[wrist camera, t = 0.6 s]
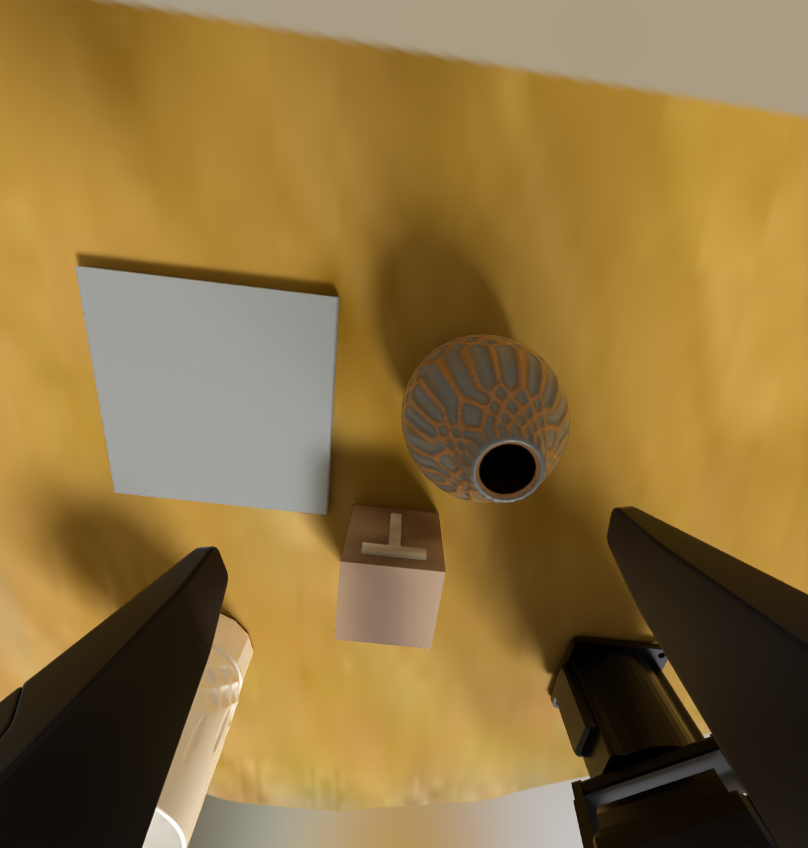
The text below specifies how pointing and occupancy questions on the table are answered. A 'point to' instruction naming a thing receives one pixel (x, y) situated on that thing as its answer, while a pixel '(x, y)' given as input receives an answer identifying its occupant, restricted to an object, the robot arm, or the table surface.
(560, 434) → the vase
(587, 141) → the table surface
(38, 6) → the table surface
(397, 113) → the table surface
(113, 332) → the grey mat
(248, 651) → the white cup
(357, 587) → the letter cube
